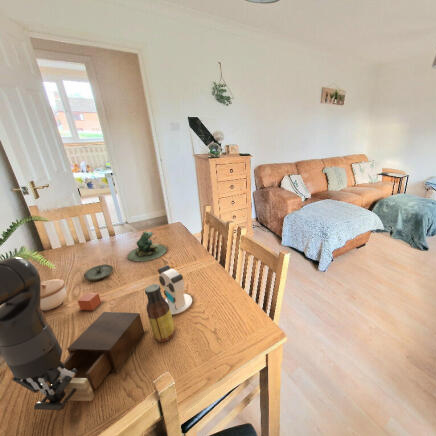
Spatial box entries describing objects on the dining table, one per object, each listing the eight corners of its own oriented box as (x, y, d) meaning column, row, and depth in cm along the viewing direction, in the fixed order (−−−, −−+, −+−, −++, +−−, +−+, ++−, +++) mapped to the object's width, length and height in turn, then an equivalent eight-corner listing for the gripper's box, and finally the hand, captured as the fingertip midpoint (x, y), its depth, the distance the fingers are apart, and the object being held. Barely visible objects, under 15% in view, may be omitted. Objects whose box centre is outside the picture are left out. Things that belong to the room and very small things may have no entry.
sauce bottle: (177, 326, 83) (168, 280, 76) (172, 342, 78) (162, 293, 70) (157, 328, 82) (146, 281, 75) (150, 344, 76) (138, 294, 69)
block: (80, 310, 89) (77, 300, 87) (90, 301, 93) (86, 292, 91) (92, 310, 89) (89, 301, 87) (101, 302, 93) (98, 293, 91)
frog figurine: (172, 252, 129) (169, 233, 125) (135, 265, 116) (130, 244, 112) (158, 241, 139) (155, 223, 135) (123, 252, 127) (118, 233, 122)
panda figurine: (154, 304, 93) (146, 272, 87) (181, 289, 101) (176, 259, 96) (169, 319, 86) (162, 285, 81) (197, 302, 95) (193, 270, 89)
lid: (107, 269, 115) (102, 260, 113) (118, 270, 110) (114, 261, 109) (82, 282, 106) (77, 272, 105) (93, 283, 102) (88, 273, 100)
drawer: (76, 421, 56) (67, 403, 53) (31, 420, 56) (20, 402, 53) (123, 355, 71) (118, 339, 69) (89, 354, 71) (82, 338, 69)
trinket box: (55, 293, 96) (47, 273, 93) (77, 297, 94) (70, 278, 91) (23, 312, 87) (13, 291, 83) (46, 317, 85) (37, 296, 81)
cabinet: (117, 371, 68) (109, 350, 65) (76, 370, 68) (66, 348, 65) (144, 332, 81) (139, 312, 77) (110, 331, 80) (103, 311, 77)
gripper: (-22, 363, 47) (13, 417, 53) (46, 365, 47) (73, 418, 53) (18, 332, 53) (45, 383, 60) (78, 333, 54) (98, 384, 60)
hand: (58, 399), depth 57 cm, fingers closed
